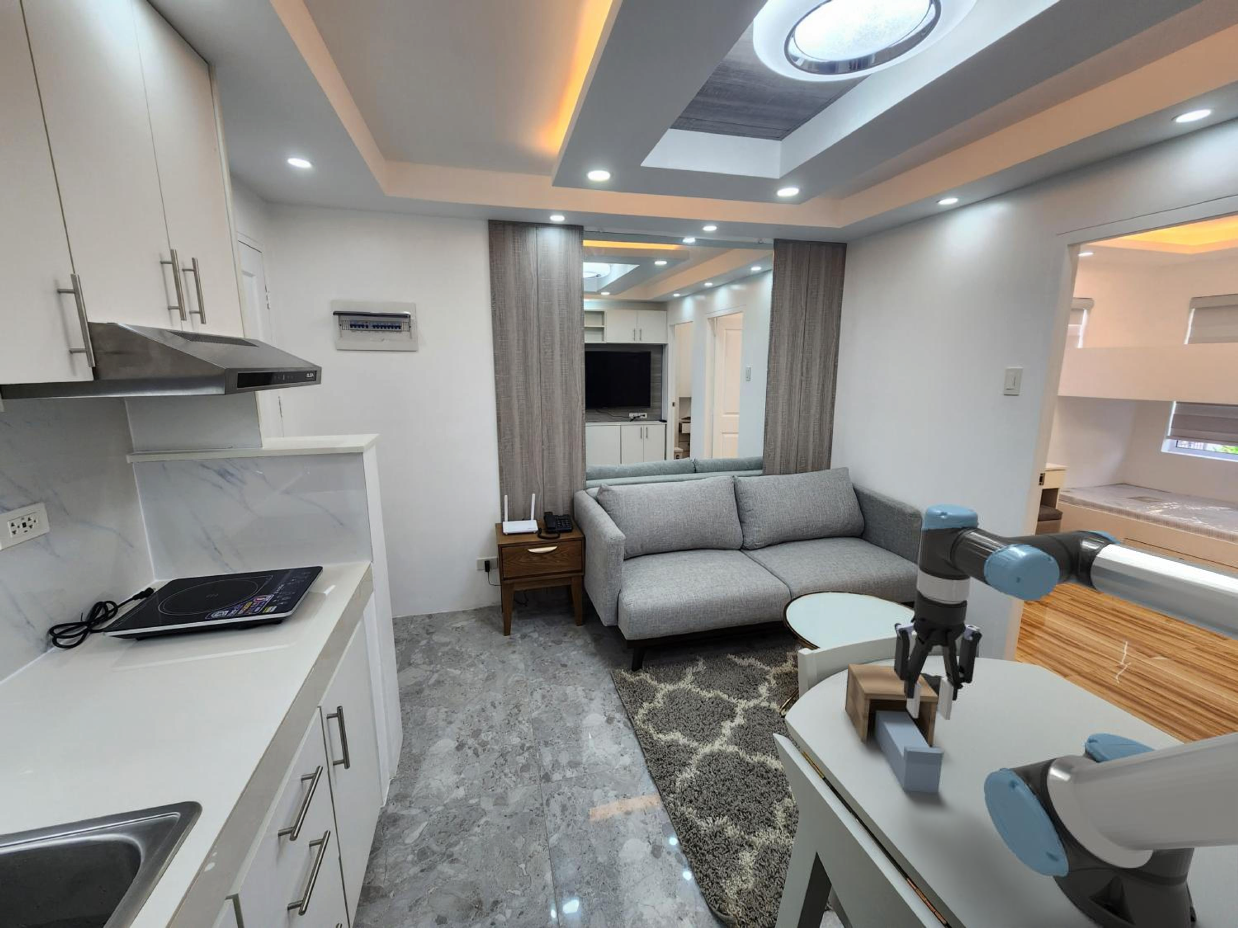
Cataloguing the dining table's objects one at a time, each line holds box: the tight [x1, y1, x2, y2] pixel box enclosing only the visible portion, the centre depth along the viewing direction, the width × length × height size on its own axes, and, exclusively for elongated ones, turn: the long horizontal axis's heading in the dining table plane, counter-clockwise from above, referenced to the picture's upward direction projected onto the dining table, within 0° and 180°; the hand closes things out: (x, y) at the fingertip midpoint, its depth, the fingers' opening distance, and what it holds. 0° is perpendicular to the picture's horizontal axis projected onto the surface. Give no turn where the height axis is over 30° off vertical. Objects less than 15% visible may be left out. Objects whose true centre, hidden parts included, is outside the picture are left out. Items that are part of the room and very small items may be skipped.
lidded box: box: [874, 710, 944, 793], centre depth 96 cm, size 14×6×8 cm, turn 173°
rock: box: [920, 672, 945, 706], centre depth 114 cm, size 10×9×6 cm
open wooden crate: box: [844, 663, 938, 746], centre depth 106 cm, size 10×14×11 cm
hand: (927, 713), depth 89 cm, fingers open, 5 cm apart
